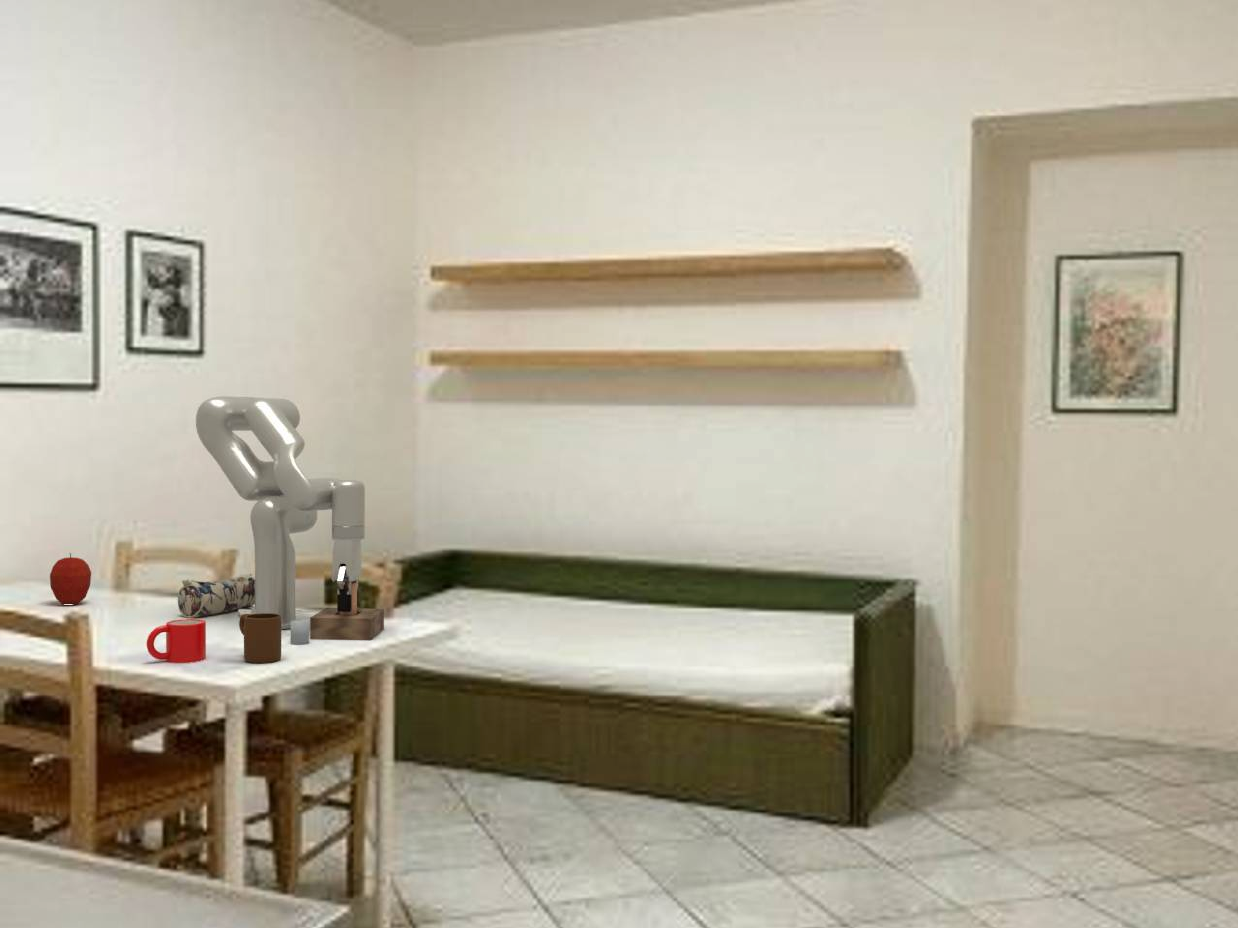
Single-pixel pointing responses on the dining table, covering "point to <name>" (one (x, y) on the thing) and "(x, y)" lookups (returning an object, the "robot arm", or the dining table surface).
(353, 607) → the long pin
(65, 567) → the apple
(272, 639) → the mug
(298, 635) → the short pin
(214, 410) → the robot arm
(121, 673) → the dining table surface
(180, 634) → the mug
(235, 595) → the pencil case
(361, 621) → the walnut hole block
